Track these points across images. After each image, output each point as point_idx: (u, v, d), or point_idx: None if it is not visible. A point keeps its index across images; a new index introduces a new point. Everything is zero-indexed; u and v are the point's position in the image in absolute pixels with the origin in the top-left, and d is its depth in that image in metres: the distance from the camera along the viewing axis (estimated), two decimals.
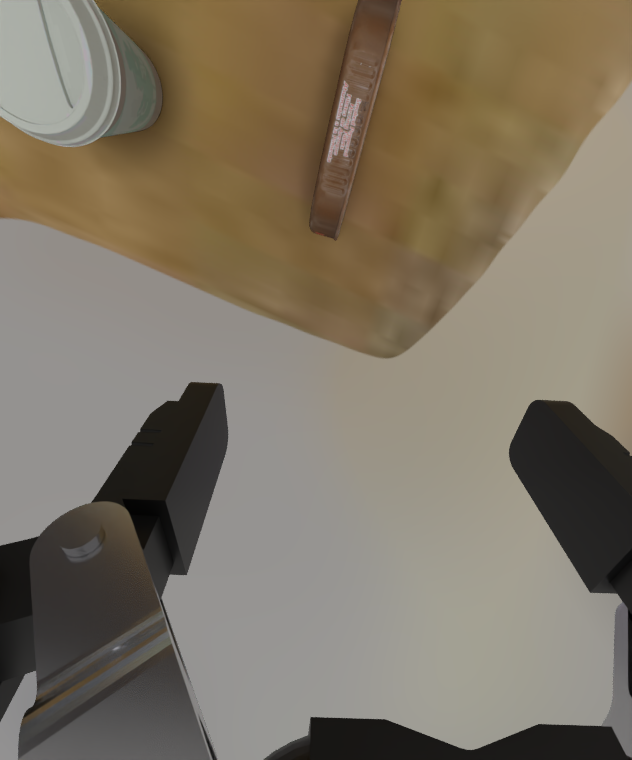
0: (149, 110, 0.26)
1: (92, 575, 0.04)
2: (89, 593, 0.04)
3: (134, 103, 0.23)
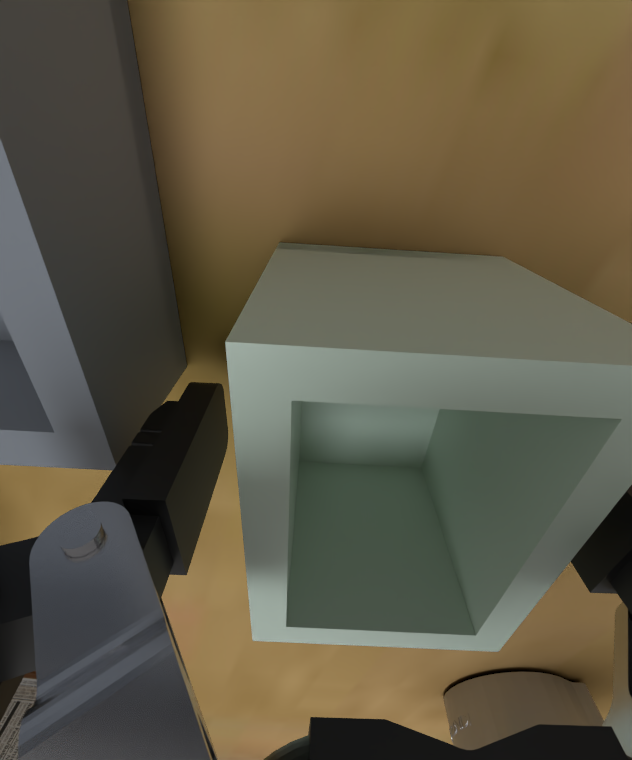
0: None
1: (92, 575, 0.04)
2: (89, 593, 0.04)
3: None
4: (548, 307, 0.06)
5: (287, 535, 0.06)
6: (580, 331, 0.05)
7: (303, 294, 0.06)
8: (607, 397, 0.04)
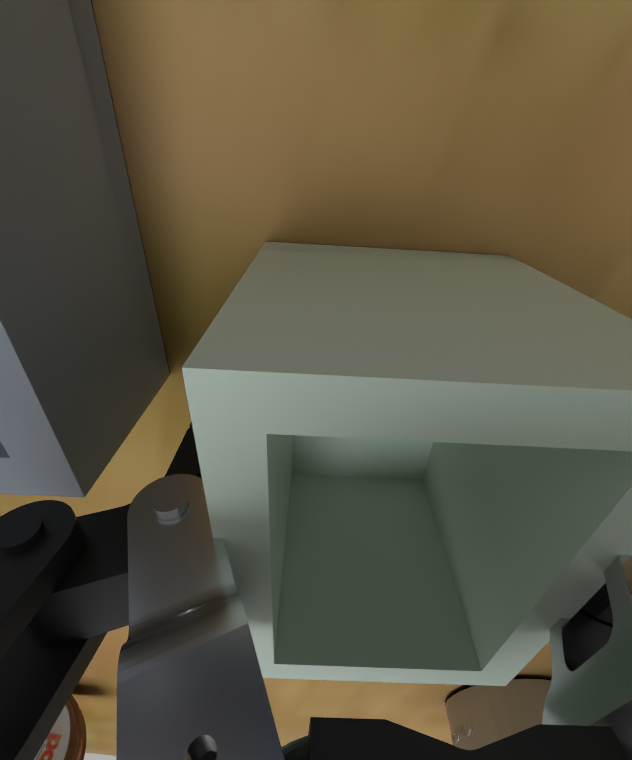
0: None
1: (177, 538, 0.05)
2: (187, 550, 0.05)
3: None
4: (565, 316, 0.05)
5: (270, 575, 0.05)
6: (607, 346, 0.04)
7: (284, 303, 0.05)
8: None
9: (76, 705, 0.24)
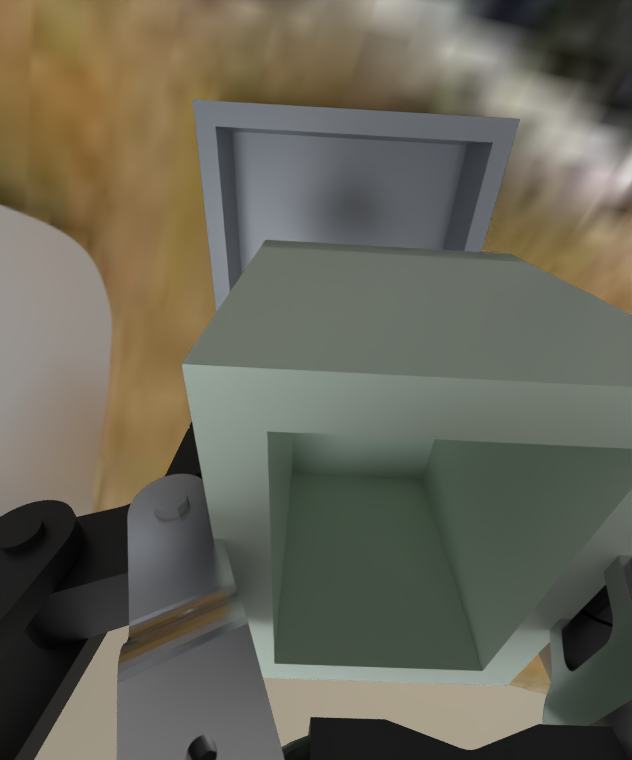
0: None
1: (177, 539, 0.05)
2: (187, 549, 0.05)
3: None
4: (568, 313, 0.05)
5: (270, 574, 0.05)
6: (609, 343, 0.04)
7: (285, 300, 0.05)
8: None
9: None
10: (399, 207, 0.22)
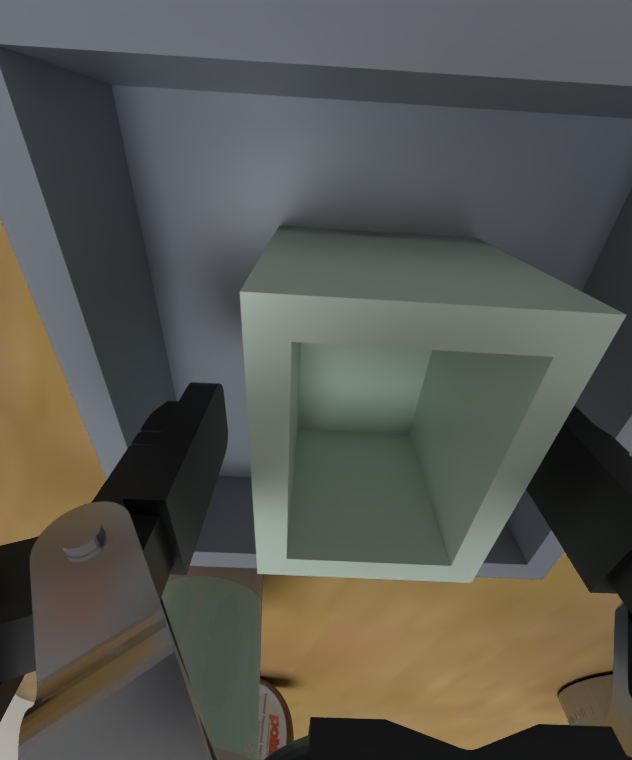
0: None
1: (92, 575, 0.04)
2: (89, 593, 0.04)
3: None
4: (504, 274, 0.07)
5: (288, 467, 0.07)
6: (524, 289, 0.06)
7: (300, 262, 0.07)
8: (540, 337, 0.06)
9: (280, 694, 0.31)
10: None
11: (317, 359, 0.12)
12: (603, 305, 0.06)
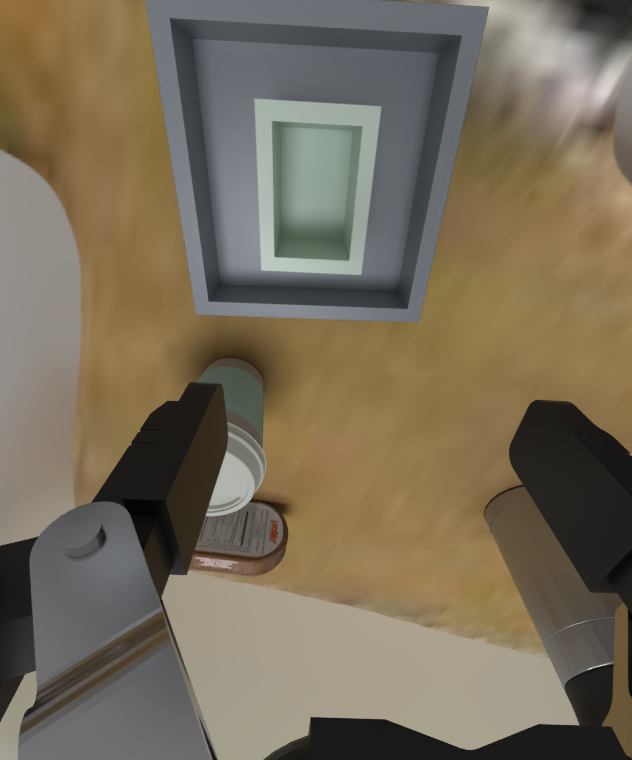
0: None
1: (92, 575, 0.04)
2: (89, 593, 0.04)
3: None
4: None
5: (272, 190, 0.18)
6: None
7: None
8: (355, 117, 0.17)
9: (278, 511, 0.43)
10: None
11: (289, 187, 0.23)
12: None
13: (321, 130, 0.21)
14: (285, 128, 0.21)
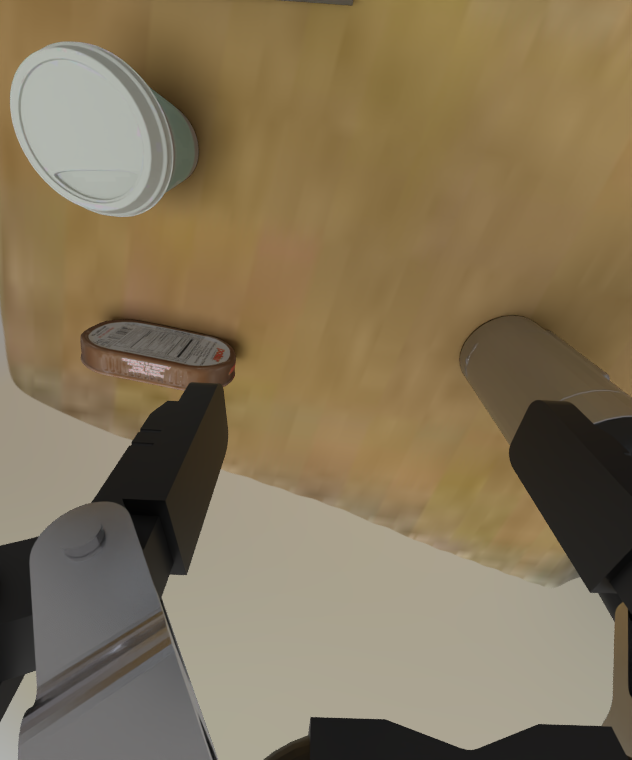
0: None
1: (92, 575, 0.04)
2: (89, 593, 0.04)
3: None
4: None
5: None
6: None
7: None
8: None
9: None
10: None
11: None
12: None
13: None
14: None
